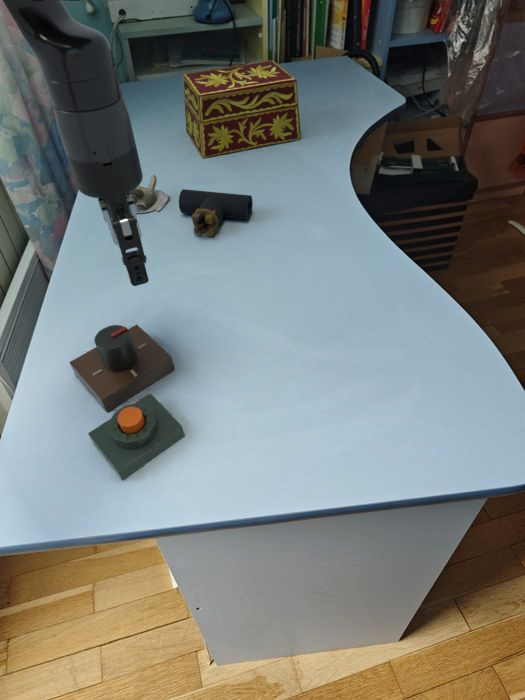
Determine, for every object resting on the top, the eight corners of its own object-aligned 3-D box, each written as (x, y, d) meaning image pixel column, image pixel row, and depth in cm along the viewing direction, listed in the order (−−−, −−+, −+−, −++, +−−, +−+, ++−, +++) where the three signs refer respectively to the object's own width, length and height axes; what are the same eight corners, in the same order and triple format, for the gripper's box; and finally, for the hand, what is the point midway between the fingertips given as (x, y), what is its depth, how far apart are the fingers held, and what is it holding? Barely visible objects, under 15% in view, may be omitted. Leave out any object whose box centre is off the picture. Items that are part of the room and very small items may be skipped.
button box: (122, 480, 63) (114, 464, 60) (92, 442, 67) (83, 425, 64) (185, 435, 67) (180, 418, 64) (153, 402, 71) (147, 385, 68)
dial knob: (114, 377, 71) (104, 353, 67) (97, 358, 74) (87, 335, 70) (143, 359, 73) (135, 335, 69) (126, 342, 76) (117, 318, 72)
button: (128, 438, 63) (125, 430, 62) (116, 423, 65) (112, 415, 63) (149, 424, 64) (146, 416, 63) (136, 410, 66) (133, 402, 65)
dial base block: (107, 412, 70) (101, 399, 68) (75, 374, 76) (68, 361, 73) (175, 369, 76) (171, 356, 73) (140, 336, 81) (136, 323, 79)
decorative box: (276, 115, 143) (276, 57, 132) (301, 139, 131) (302, 79, 120) (185, 131, 137) (177, 73, 126) (202, 159, 125) (194, 96, 114)
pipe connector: (237, 218, 95) (165, 211, 98) (238, 241, 99) (170, 233, 102) (251, 190, 103) (185, 184, 106) (253, 212, 107) (188, 206, 109)
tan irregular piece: (174, 198, 113) (170, 173, 110) (150, 218, 105) (145, 191, 101) (136, 195, 116) (131, 170, 112) (110, 214, 107) (103, 188, 104)
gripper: (58, 125, 57) (97, 243, 68) (72, 179, 47) (114, 304, 59) (122, 114, 58) (149, 231, 70) (147, 163, 49) (174, 288, 61)
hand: (133, 264), depth 65 cm, fingers open, 8 cm apart
